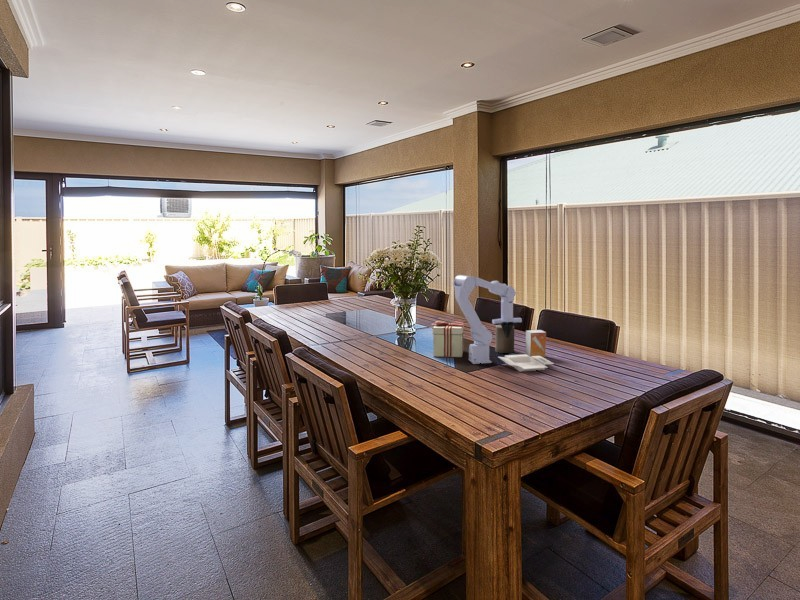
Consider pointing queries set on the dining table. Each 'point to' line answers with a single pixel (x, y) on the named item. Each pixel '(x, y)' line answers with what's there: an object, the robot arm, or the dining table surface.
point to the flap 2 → (542, 360)
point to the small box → (535, 343)
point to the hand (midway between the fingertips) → (506, 337)
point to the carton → (525, 363)
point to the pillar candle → (504, 341)
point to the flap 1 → (508, 361)
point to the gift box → (448, 339)
